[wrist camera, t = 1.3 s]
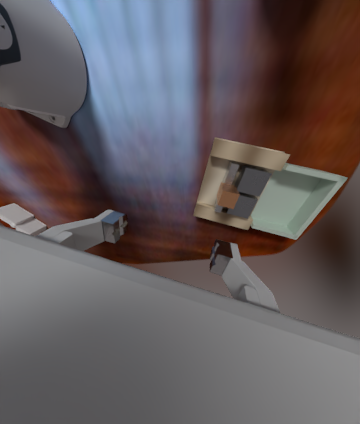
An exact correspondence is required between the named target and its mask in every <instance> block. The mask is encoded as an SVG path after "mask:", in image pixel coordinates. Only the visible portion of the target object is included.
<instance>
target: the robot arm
mask: <svg viewBox="0 0 360 424" xmlns="http://www.w3.org/2000/svg"><path fill="white" fill-rule="evenodd" d="M86 89H87V74H86V67H85V62H84V58H83V54H82V51H81V48H80V45H79V43H78V40H77V38H76V36H75V34H74V32H73V30H72V29H71V27H70V25H69V24H68V22H67V21H66V19H65V18H64V17H63V15H62V14H61V13H60V12H59V11H58V10H57V8H56V7H55V6H54V5H53V4H52V3H51V1H50V0H0V106H1V107H5V108H8V109H12V110H16V109H19V110H23V111H26V112H28V113H30V114H32V115H34V116H36V117H39V118H41V119H43V120H45V121H47V122H49V123H52V124H54V125H56V126H58V127H62V128H66V127H67V126H68V124H69V122H70V118H71V116H72V115H73V114H74V113H75V112H77V111H78V110H79V109H80V107H81V106H82V104H83V102H84V99H85V95H86ZM127 219H128V218H127V215H126V214H123V213H120V212H117V211H113V210H106V211H105V212H103V213H102V214H100V215H99V216H97V217H95V218H94V219H92V218H91V219H86V220H81V221H77V222H72V223H67V224H63V225H58V226H53V227H51V228H50V229H48V230H46V231H44V232H42V233H40V234H38V235H36V236H33V235H29V234H26V233H23V232H20V231H17V230H14V229H10V228H7V227H4V226H1V225H0V424H360V338H357V337H353V336H350V335H347V334H343V333H341V332H337V331H334V330H331V329H328V328H325V327H322V326H318V325H315V324H312V323H309V322H306V321H303V320H299V319H296V318H293V317H290V316H287V315H284V314H280V311H279V309H278V306H277V304H276V301H275V299H274V296H273V294H272V292H271V291H270V290H269V289H268V288H267V287H266V286H265V285H264V283H263V282H262V281H261V280H260V279H259V278H258V277H257V276H256V275H255V274H254V273H253V272H252V270H251V269H250V268H249V267H248V266H247V265H246V264H245V263H244V262H243V261H241V258H240V254H239V250H238V246H237V244H234V243H229V242H225V241H221V240H217V239H216V240H215V242H214V247H212V250H211V254H210V260H211V263H210V272H212V273H215V274H218V275H221V276H222V278H223V280H224V282H225V283H226V286H227V287H228V289H229V291H230V293H231V295H232V296H233V298H234V299H233V298H230V297H226V296H223V295H220V294H217V293H213V292H210V291H207V290H204V289H201V288H198V287H194V286H191V285H188V284H185V283H182V282H179V281H176V280H172V279H169V278H166V277H163V276H160V275H156V274H153V273H150V272H147V271H144V270H141V269H137V268H134V267H131V266H128V265H125V264H122V263H118V262H115V261H112V260H109V259H106V258H102V257H99V256H96V255H93V254H90V253H87V252H83V251H84V250H86V249H88V248H90V247H93V246H95V245H97V244H99V243H101V242H104V241H108V242H112V243H116V242H117V241H118V240H119V239H120V235H123V234H124V233H125V232H126V230H127V227H128V223H127V222H126V220H127Z"/></svg>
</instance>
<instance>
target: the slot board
mask: <svg viewBox="0 0 360 424" xmlns="http://www.w3.org/2000/svg"><path fill="white" fill-rule="evenodd" d="M289 156H290V155H289V154H285V153H284V152H281V151H276V150H272V149H267V148H262V147H258V146H253V145H248V144H243V143H239V142H234V141H229V140H225V139H220V138H215V139H214V142H213V146H212V149H211V153H210V157H209V160H208V164H207V167H206V171H205V175H204V178H203V182H202V185H201V189H200V193H199V196H198V200H197V203H196V207H195V211H194V215H193V216H197V217H200V218H204V219H208V220H212V221H215V222H219V223H223V224H226V225H230V226H234V227H238V228H241V229H245V230H248V229H249V227H250V225H251V223H252V222H253V219H252V217H251V214H252V212H253V210H254V208H255V206H256V205H255V206H254V208H253V210H252V212H251V214H250V216H249V218H248V219H247V218H243V217H239V216H235V215H232V214H228V213H227V211H226V207H223V208H222V210H221V213H219V212H215V211H214V204H215V201H216V198H217V193H218V190H219V187H220V184H221V182H222V181H223V178H224V176H225V173H226V170H227V167H228V164H229V162H230V161H231V162H236V163H237V164H239V167H238V170H237V172H236V175H235V178H234V180H233V183H232V185H234V184H235V182H236V179H237V177H238V174H239V172H240V170H241V167H242V165H246V166H250V167H255V168H259V169H264V170H266V171H268V172H270V173H272V175H273V173H274V171H275V170H277V171H281V170H282V168H283V167H284V165H285V163H286V161H287V159H288V158H289ZM272 175H271V176H270V178H271V177H272ZM270 178H269V180H270ZM269 180H268V182H269ZM268 182H267V184H268ZM267 184H266V186H267ZM266 186H265V188H266ZM265 188H264V190H265ZM264 190H263V191H264ZM263 191H262V193H263ZM262 193H261V195H262ZM261 195H260V197H261ZM255 197H256V198H257V199H258V201H259V199H260V197H259V196H255ZM258 201H257V203H258ZM257 203H256V204H257Z"/></svg>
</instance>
